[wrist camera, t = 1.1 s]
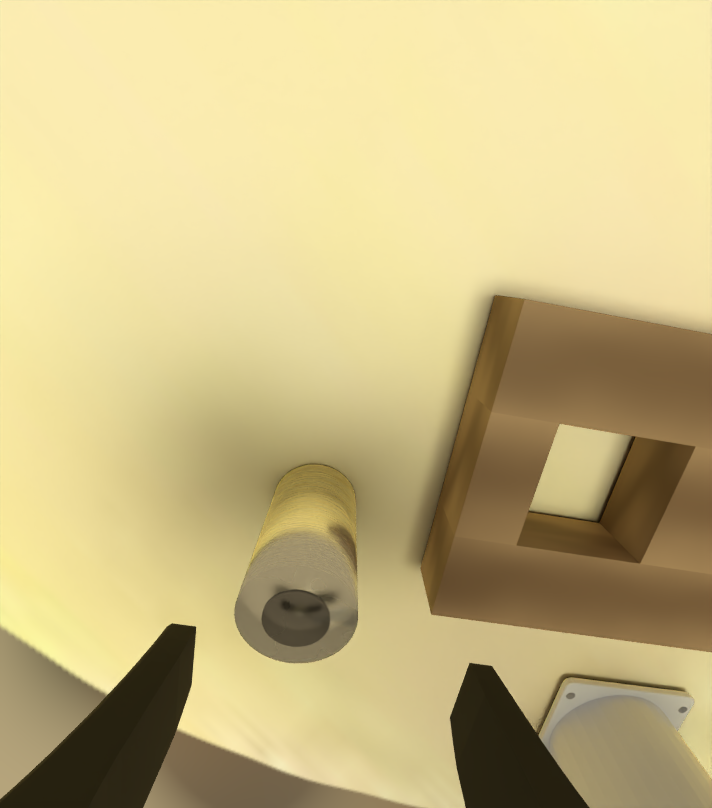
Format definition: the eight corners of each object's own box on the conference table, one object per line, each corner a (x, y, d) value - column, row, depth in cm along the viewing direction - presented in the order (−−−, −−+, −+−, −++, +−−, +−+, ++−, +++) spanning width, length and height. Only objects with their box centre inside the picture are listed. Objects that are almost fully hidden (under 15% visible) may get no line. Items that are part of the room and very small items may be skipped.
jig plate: (772, 618, 22) (834, 668, 19) (420, 568, 21) (431, 614, 18) (923, 375, 18) (1031, 394, 15) (495, 295, 17) (524, 299, 14)
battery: (348, 540, 20) (346, 674, 14) (270, 529, 20) (228, 659, 13) (362, 471, 19) (368, 578, 12) (279, 458, 19) (238, 561, 12)
